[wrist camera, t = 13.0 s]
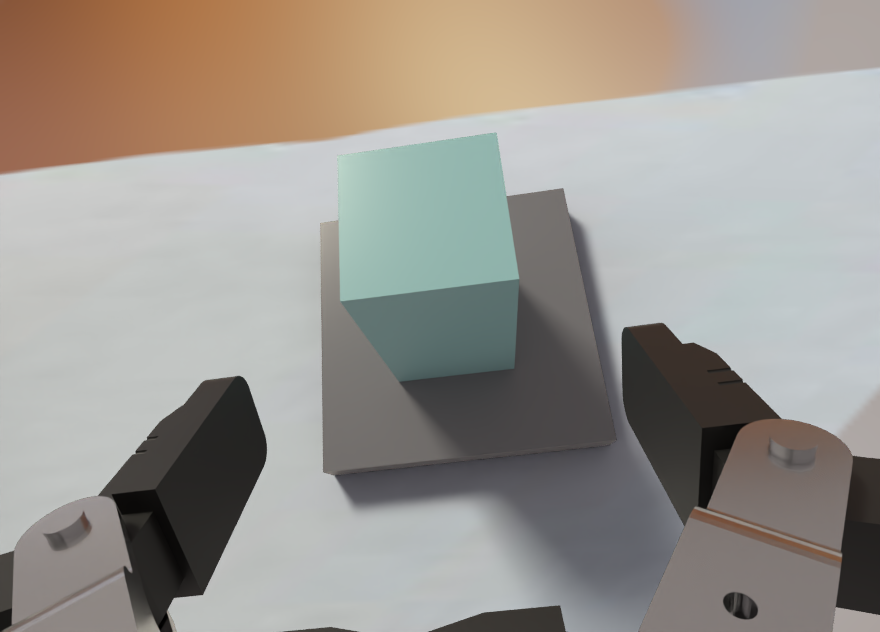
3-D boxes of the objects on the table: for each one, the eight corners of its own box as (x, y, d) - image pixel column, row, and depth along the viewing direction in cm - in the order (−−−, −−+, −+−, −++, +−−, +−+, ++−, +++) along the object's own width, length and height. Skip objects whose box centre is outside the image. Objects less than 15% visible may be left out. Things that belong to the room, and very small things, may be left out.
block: (398, 381, 23) (340, 301, 15) (392, 278, 25) (337, 155, 17) (514, 368, 23) (519, 278, 15) (499, 264, 25) (496, 132, 17)
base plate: (334, 475, 24) (297, 464, 20) (329, 238, 28) (299, 188, 24) (609, 445, 23) (632, 427, 19) (560, 205, 27) (570, 147, 23)
